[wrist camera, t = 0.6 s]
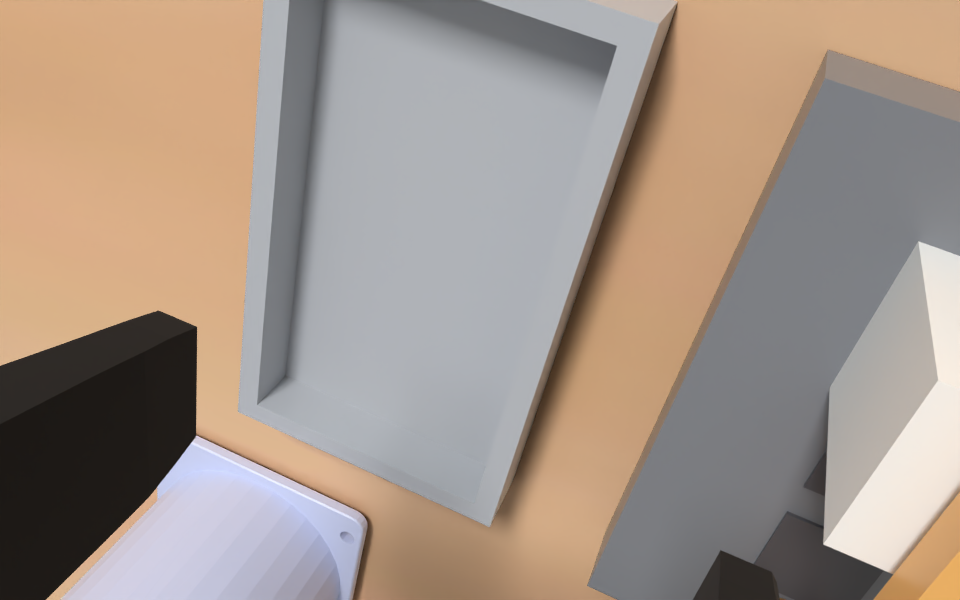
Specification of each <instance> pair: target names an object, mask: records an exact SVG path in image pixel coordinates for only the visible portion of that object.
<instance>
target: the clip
mask: <svg viewBox="0 0 960 600" xmlns="http://www.w3.org/2000/svg"><path fill="white" fill-rule="evenodd" d="M780 600H786V599H782V598H780ZM873 600H960V492H959V494H958V495H957V496H956V497H955V499H954V500H953V501H952V502H951V504H950V505H949V506H948V507H947V509H946V510H945V511H944V512H943V514H942V515H941V516H940V517H939V518H938V520H937V521H936V522H935V523H934V525H933V526H932V527H931V528H930V530H929V531H928V532H927V533H926V535H925V536H924V537H923V538H922V540H921V541H920V542H919V543H918V545H917V546H916V547H915V548H914V550H913V551H912V552H911V553H910V555H909V556H908V557H907V558H906V560H905V561H904V562H903V563H902V565H901V566H900V567H899V568H898V570H897V571H896V572H895V573H894V575H893V576H892V577H891V578H890V580H889V581H888V582H887V583H886V585H885V586H884V587H883V588H882V589H881V591H880V592H879V593H878V594H877V596H876V597H875V598H874V599H873Z"/></svg>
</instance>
